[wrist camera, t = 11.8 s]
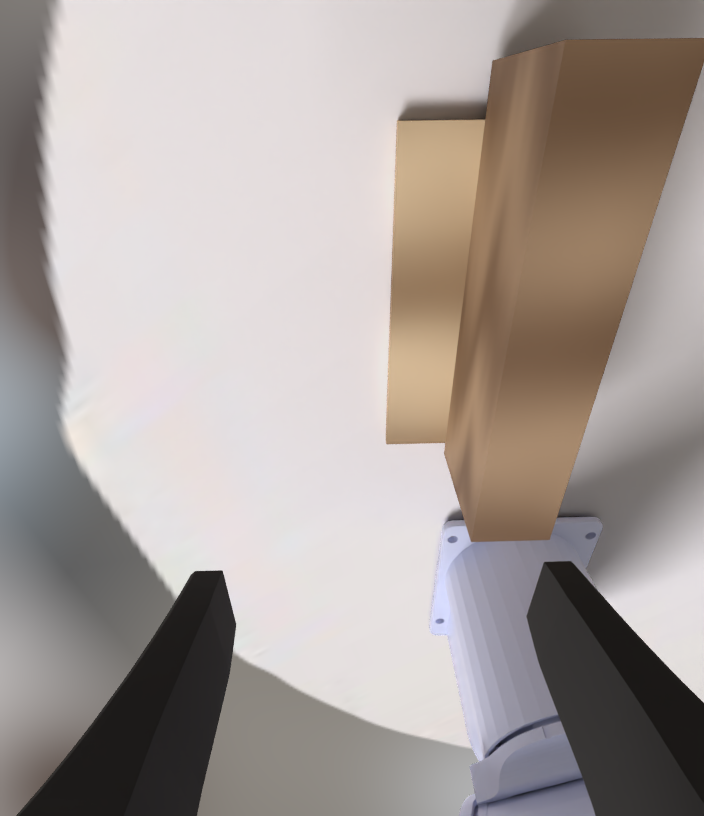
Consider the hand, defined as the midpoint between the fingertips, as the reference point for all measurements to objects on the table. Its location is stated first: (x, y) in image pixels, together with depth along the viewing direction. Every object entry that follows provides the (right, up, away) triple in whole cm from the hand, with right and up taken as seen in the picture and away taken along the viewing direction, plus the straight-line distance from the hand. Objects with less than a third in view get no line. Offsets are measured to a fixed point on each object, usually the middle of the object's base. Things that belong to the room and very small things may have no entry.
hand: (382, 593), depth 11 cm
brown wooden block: (+5, +8, +6) cm, 11 cm away
